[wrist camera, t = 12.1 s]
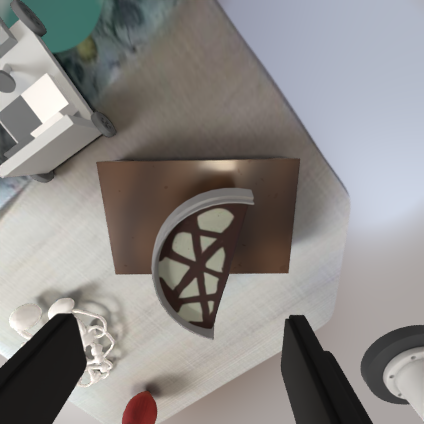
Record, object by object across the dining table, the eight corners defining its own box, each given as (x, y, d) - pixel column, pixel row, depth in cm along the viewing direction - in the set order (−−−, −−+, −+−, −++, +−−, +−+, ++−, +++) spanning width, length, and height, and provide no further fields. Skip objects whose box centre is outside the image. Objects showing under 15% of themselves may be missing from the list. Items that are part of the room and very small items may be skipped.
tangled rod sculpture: (135, 366, 39) (128, 390, 35) (62, 382, 39) (46, 408, 35) (100, 283, 33) (87, 301, 29) (13, 301, 33) (-11, 322, 29)
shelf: (283, 157, 27) (300, 158, 21) (275, 252, 31) (288, 273, 25) (119, 160, 27) (96, 162, 22) (132, 253, 31) (115, 274, 26)
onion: (134, 402, 40) (115, 460, 33) (129, 381, 39) (108, 437, 31) (163, 401, 40) (151, 460, 32) (159, 380, 39) (146, 437, 31)
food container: (183, 164, 22) (158, 172, 12) (238, 177, 22) (257, 195, 12) (165, 262, 25) (134, 330, 16) (213, 272, 25) (211, 345, 16)
